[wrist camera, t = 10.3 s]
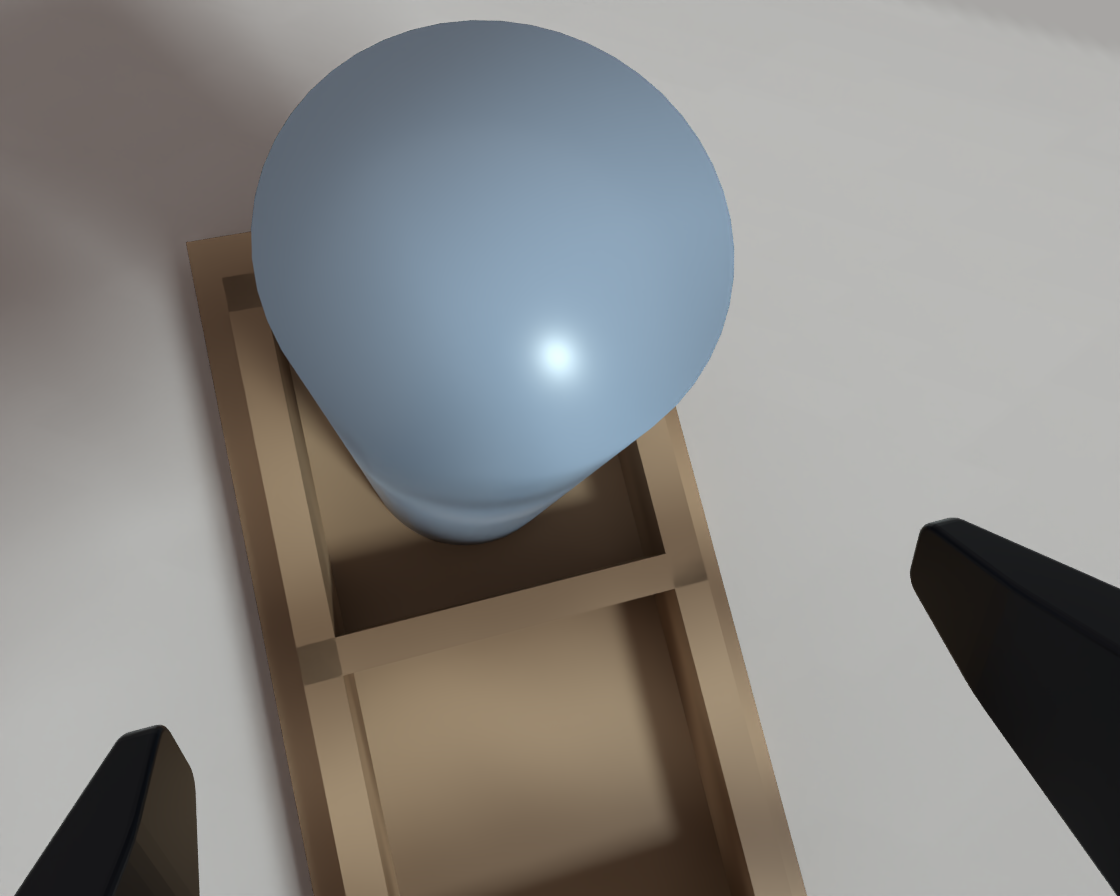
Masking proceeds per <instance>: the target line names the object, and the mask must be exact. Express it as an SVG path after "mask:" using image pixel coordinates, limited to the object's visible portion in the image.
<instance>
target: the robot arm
mask: <svg viewBox="0 0 1120 896" xmlns="http://www.w3.org/2000/svg"><path fill="white" fill-rule="evenodd" d="M910 578H911V583H912V586H913V588H914V590H915V592H916V594H917V596H918V598H919V599H920V601H921V603H922V605H923V606H924V608H925V610H926V612H927V614H928V615H929V617H930V619H931V621H932V622H933V624H934V626H935V628H936V629H937V631H938V633H939V635H940V636H941V638H942V640H943V642H944V643H945V645H946V647H947V649H948V650H949V652H950V654H951V656H952V657H953V659H954V661H955V663H956V664H957V666H958V668H959V670H960V671H961V673H962V675H963V677H964V678H965V680H966V682H967V683H968V685H969V687H970V688H971V690H972V691H973V693H974V695H975V696H976V698H977V699H978V700H979V702H980V703H981V705H982V706H983V708H984V709H985V711H986V712H987V714H988V715H989V716H990V718H991V719H992V721H993V722H994V723H995V725H996V726H997V728H998V729H999V730H1000V732H1001V733H1002V735H1003V736H1004V737H1005V739H1006V740H1007V742H1008V743H1009V744H1010V746H1011V747H1012V749H1013V750H1014V752H1015V753H1016V754H1017V756H1018V757H1019V759H1020V760H1021V761H1022V763H1023V764H1024V766H1025V767H1026V768H1027V770H1028V771H1029V773H1030V774H1031V775H1032V777H1033V778H1034V780H1035V781H1036V782H1037V784H1038V785H1039V787H1040V788H1041V789H1042V791H1043V792H1044V794H1045V795H1046V796H1047V798H1048V799H1049V801H1050V802H1051V803H1052V805H1053V806H1054V808H1055V809H1056V810H1057V812H1058V813H1059V815H1060V816H1061V818H1062V819H1063V820H1064V822H1065V823H1066V825H1067V826H1068V827H1069V829H1070V830H1071V832H1072V833H1073V834H1074V836H1075V837H1076V839H1077V840H1078V841H1079V843H1080V844H1081V846H1082V847H1083V848H1084V850H1085V851H1086V853H1087V854H1088V855H1089V857H1090V858H1091V860H1092V861H1093V862H1094V864H1095V865H1096V867H1097V868H1098V869H1099V871H1100V872H1101V874H1102V875H1103V876H1104V878H1105V879H1106V881H1107V882H1108V884H1109V885H1110V886H1111V888H1112V889H1113V891H1114V892H1115V893H1116V895H1117V896H1120V589H1119V588H1117V587H1115V586H1113V585H1110V584H1108V583H1106V582H1103V581H1101V580H1099V579H1097V578H1094V577H1092V576H1090V575H1088V574H1085V573H1083V572H1081V571H1078V570H1076V569H1074V568H1072V567H1069V566H1067V565H1065V564H1062V563H1060V562H1058V561H1056V560H1053V559H1051V558H1049V557H1047V556H1044V555H1042V554H1040V553H1037V552H1035V551H1033V550H1031V549H1028V548H1026V547H1024V546H1021V545H1019V544H1017V543H1015V542H1012V541H1010V540H1008V539H1006V538H1003V537H1001V536H999V535H996V534H994V533H992V532H990V531H987V530H985V529H983V528H980V527H978V526H976V525H974V524H971V523H969V522H967V521H965V520H962V519H959V518H947V519H943V520H939V521H935V522H931V523H928V524H926V525H924V526H923V528H922V529H921V530H920V533H919V537H918V541H917V544H916V548H915V552H914V556H913V560H912V564H911V569H910ZM14 896H200V895H199V869H198V844H197V818H196V793H195V782H194V777H193V773H192V770H191V768H190V766H189V764H188V762H187V760H186V759H185V757H184V755H183V753H182V752H181V750H180V748H179V747H178V745H177V743H176V741H175V740H174V738H173V736H172V735H171V733H170V731H169V730H168V729H167V728H166V727H165V726H163V725H155V726H151V727H147V728H143V729H139V730H136V731H132V732H128V733H126V734H124V735H123V736H121V737H120V738H119V739H118V740H117V742H116V743H115V744H114V746H113V747H112V749H111V750H110V752H109V753H108V755H107V756H106V758H105V759H104V761H103V762H102V764H101V765H100V767H99V768H98V770H97V771H96V773H95V775H94V776H93V778H92V779H91V781H90V782H89V784H88V785H87V787H86V788H85V790H84V791H83V793H82V794H81V796H80V797H79V799H78V800H77V802H76V803H75V805H74V806H73V808H72V809H71V811H70V812H69V814H68V815H67V817H66V818H65V820H64V821H63V823H62V824H61V826H60V827H59V829H58V830H57V832H56V833H55V835H54V836H53V838H52V839H51V841H50V842H49V844H48V845H47V847H46V849H45V850H44V852H43V853H42V855H41V856H40V858H39V859H38V861H37V862H36V864H35V865H34V867H33V868H32V870H31V871H30V873H29V874H28V876H27V877H26V879H25V880H24V882H23V883H22V885H21V886H20V888H19V889H18V891H17V892H16V894H15V895H14Z"/></svg>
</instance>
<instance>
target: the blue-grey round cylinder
mask: <svg viewBox="0 0 1120 896" xmlns="http://www.w3.org/2000/svg"><path fill="white" fill-rule="evenodd" d="M251 240H252V262H253V268H254V274H255V279H256V285H257V291H258V294H259V297H260V300H261V303H262V306H263V309H264V312H265V315H266V319H267V321H268V323H269V325H270V328H271V330H272V332H273V334H274V336H275V338H276V340H277V342H278V344H279V346H280V348H281V350H282V352H283V353H284V355H285V356H286V358H287V359H288V361H289V362H290V364H291V365H292V367H293V368H294V370H295V371H296V373H297V374H298V376H299V377H300V379H301V380H302V382H303V383H304V385H305V386H306V388H307V389H308V391H309V392H310V394H311V395H312V397H313V398H314V400H315V401H316V403H317V404H318V406H319V407H320V409H321V410H322V412H323V413H324V415H325V416H326V418H327V419H328V421H329V422H330V424H331V425H332V427H333V428H334V430H335V431H336V433H337V434H338V436H339V437H340V439H341V440H342V442H343V443H344V445H345V446H346V448H347V449H348V451H349V452H350V454H351V455H352V457H353V458H354V460H355V461H356V463H357V464H358V466H359V467H360V469H361V470H362V472H363V473H364V475H365V476H366V478H367V479H368V481H369V482H370V484H371V485H372V487H373V488H374V490H375V491H376V493H377V494H378V496H379V497H380V499H381V500H382V502H383V503H384V505H385V506H386V507H387V509H388V510H389V511H390V512H391V513H392V514H393V515H394V516H395V517H396V518H397V519H398V520H399V521H400V522H401V523H403V524H404V525H405V526H406V527H408V528H410V529H411V530H413V531H414V532H416V533H418V534H420V535H422V536H424V537H426V538H428V539H431V540H435V541H438V542H441V543H447V544H452V545H477V544H483V543H488V542H492V541H495V540H498V539H501V538H503V537H506V536H508V535H509V534H511V533H513V532H515V531H517V530H518V529H520V528H521V527H523V526H524V525H526V524H527V523H528V522H529V521H531V520H532V519H533V518H535V517H536V516H537V515H539V514H540V513H541V512H543V511H544V510H545V509H546V508H548V507H549V506H550V505H552V504H553V503H554V502H556V501H557V500H558V499H559V498H561V497H562V496H563V495H565V494H566V493H567V492H569V491H570V490H571V489H573V488H574V487H575V486H576V485H578V484H579V483H580V482H582V481H583V480H584V479H586V478H587V477H588V476H589V475H591V474H592V473H593V472H595V471H596V470H597V469H599V468H600V467H601V466H603V465H604V464H605V463H606V462H608V461H609V460H610V459H612V458H613V457H614V456H616V455H617V454H618V453H619V452H621V451H622V450H623V449H625V448H626V447H627V446H629V445H630V444H631V443H633V442H634V441H635V440H636V439H638V438H639V437H640V436H642V435H643V434H644V433H646V432H647V431H648V430H649V429H651V428H652V427H653V426H654V425H655V424H657V423H658V422H659V421H660V420H661V419H662V418H663V417H664V416H665V415H667V414H668V413H669V412H670V411H671V410H672V409H673V408H674V407H675V406H676V405H677V404H678V403H679V401H680V400H681V399H682V398H683V397H684V395H685V394H686V393H687V392H688V391H689V389H690V388H691V387H692V386H693V385H694V383H695V382H696V380H697V379H698V377H699V375H700V374H701V372H702V371H703V369H704V367H705V366H706V364H707V363H708V361H709V359H710V357H711V355H712V353H713V350H714V348H715V346H716V344H717V341H718V339H719V337H720V335H721V332H722V329H723V326H724V322H725V319H726V315H727V312H728V308H729V305H730V298H731V291H732V284H733V278H734V244H733V235H732V227H731V219H730V215H729V211H728V207H727V203H726V200H725V196H724V192H723V189H722V187H721V184H720V181H719V179H718V176H717V174H716V171H715V169H714V166H713V164H712V162H711V160H710V158H709V157H708V155H707V153H706V151H705V149H704V148H703V146H702V144H701V142H700V140H699V139H698V137H697V136H696V134H695V133H694V132H693V130H692V129H691V127H690V126H689V125H688V123H687V122H686V120H685V119H684V118H683V116H682V115H681V114H680V113H679V112H678V110H677V109H676V108H675V107H674V106H673V105H672V104H671V103H670V102H669V101H668V100H667V98H666V97H665V96H664V95H663V94H662V93H661V92H660V91H659V90H657V89H656V88H655V87H654V86H653V85H652V84H650V83H649V82H648V81H647V80H646V79H645V78H643V77H642V76H641V75H640V74H639V73H637V72H636V71H634V70H633V69H631V68H630V67H628V66H627V65H625V64H624V63H622V62H621V61H620V60H618V59H617V58H615V57H613V56H611V55H609V54H608V53H606V52H604V51H602V50H600V49H598V48H596V47H594V46H592V45H590V44H588V43H586V42H583V41H581V40H578V39H576V38H573V37H570V36H568V35H565V34H563V33H560V32H556V31H552V30H548V29H544V28H540V27H537V26H533V25H527V24H520V23H512V22H505V21H478V20H469V21H459V22H450V23H440V24H436V25H431V26H427V27H423V28H418V29H414V30H410V31H407V32H405V33H402V34H399V35H396V36H393V37H391V38H388V39H385V40H383V41H381V42H379V43H377V44H375V45H373V46H371V47H369V48H367V49H365V50H363V51H361V52H359V53H357V54H356V55H354V56H353V57H351V58H350V59H348V60H347V61H346V62H344V63H343V64H341V65H340V66H338V67H337V68H335V69H334V70H333V71H331V72H330V73H329V74H328V75H327V76H326V77H325V78H324V79H323V80H321V81H320V82H319V83H318V84H317V85H316V86H315V87H314V88H313V89H312V90H310V91H309V93H308V94H307V95H306V96H305V97H304V99H303V100H302V101H301V102H300V104H299V105H298V106H297V107H296V108H295V110H294V111H293V112H292V113H291V114H290V116H289V118H288V119H287V121H286V123H285V124H284V126H283V127H282V129H281V131H280V132H279V134H278V136H277V137H276V139H275V141H274V143H273V145H272V148H271V150H270V152H269V155H268V157H267V159H266V161H265V164H264V166H263V169H262V172H261V176H260V180H259V184H258V187H257V191H256V195H255V200H254V208H253V217H252V225H251Z"/></svg>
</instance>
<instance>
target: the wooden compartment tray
mask: <svg viewBox="0 0 1120 896" xmlns="http://www.w3.org/2000/svg"><path fill="white" fill-rule="evenodd" d="M186 245H187V250H188V255H189V260H190V266H191V271H192V276H193V281H194V286H195V291H196V296H197V301H198V306H199V312H200V317H201V322H202V327H203V332H204V337H205V342H206V347H207V352H208V358H209V363H210V368H211V373H212V378H213V383H214V388H215V393H216V398H217V404H218V409H219V414H220V419H221V424H222V429H223V434H224V439H225V444H226V450H227V455H228V460H229V465H230V470H231V475H232V480H233V485H234V490H235V496H236V501H237V506H238V511H239V516H240V521H241V526H242V531H243V536H244V541H245V547H246V552H247V557H248V562H249V567H250V572H251V577H252V582H253V587H254V593H255V598H256V603H257V608H258V613H259V618H260V623H261V628H262V633H263V639H264V644H265V649H266V654H267V659H268V664H269V669H270V674H271V679H272V685H273V690H274V695H275V700H276V705H277V710H278V715H279V720H280V725H281V731H282V736H283V741H284V746H285V751H286V756H287V761H288V766H289V771H290V777H291V782H292V787H293V792H294V797H295V802H296V807H297V812H298V817H299V822H300V828H301V833H302V838H303V843H304V848H305V853H306V858H307V863H308V868H309V874H310V879H311V884H312V889H313V894H314V896H807V894H806V890H805V887H804V883H803V879H802V876H801V872H800V868H799V864H798V861H797V857H796V853H795V850H794V846H793V842H792V838H791V835H790V831H789V827H788V823H787V820H786V816H785V812H784V809H783V805H782V801H781V797H780V794H779V790H778V786H777V782H776V779H775V775H774V771H773V768H772V764H771V760H770V756H769V753H768V749H767V745H766V741H765V738H764V734H763V730H762V727H761V723H760V719H759V715H758V712H757V708H756V704H755V700H754V697H753V693H752V689H751V686H750V682H749V678H748V674H747V671H746V667H745V663H744V660H743V656H742V652H741V648H740V645H739V641H738V637H737V633H736V630H735V626H734V622H733V619H732V615H731V611H730V607H729V604H728V600H727V596H726V592H725V589H724V585H723V581H722V578H721V574H720V570H719V566H718V563H717V559H716V555H715V551H714V548H713V544H712V540H711V537H710V533H709V529H708V525H707V522H706V518H705V514H704V511H703V507H702V503H701V499H700V496H699V492H698V488H697V484H696V481H695V477H694V473H693V470H692V466H691V462H690V458H689V455H688V451H687V447H686V443H685V440H684V436H683V432H682V429H681V425H680V421H679V417H678V414H677V410H676V406H675V407H674V408H673V409H672V410H671V411H670V412H669V413H668V414H667V415H665V416H664V417H663V418H662V419H661V420H660V421H659V422H658V423H657V424H655V425H654V426H653V427H652V428H651V429H649V430H648V431H647V432H646V433H644V434H643V435H642V436H640V437H639V438H638V439H636V440H635V441H634V442H633V443H631V444H630V445H629V446H627V447H626V448H625V449H623V450H622V451H621V452H619V453H618V454H617V455H616V456H614V457H613V458H612V459H610V460H609V461H608V462H606V463H605V464H604V465H603V466H601V467H600V468H599V469H597V470H596V471H595V472H593V473H592V474H591V475H589V476H588V477H587V478H586V479H584V480H583V481H582V482H580V483H579V484H578V485H576V486H575V487H574V488H573V489H571V490H570V491H569V492H567V493H566V494H565V495H563V496H562V497H561V498H559V499H558V500H557V501H556V502H554V503H553V504H552V505H550V506H549V507H548V508H546V509H545V510H544V511H543V512H541V513H540V514H539V515H537V516H536V517H535V518H533V519H532V520H531V521H529V522H528V523H527V524H526V525H524V526H523V527H521V528H520V529H518V530H517V531H515V532H513V533H511V534H509V535H508V536H506V537H503V538H501V539H498V540H495V541H492V542H488V543H483V544H477V545H452V544H447V543H441V542H438V541H435V540H431V539H428V538H426V537H424V536H422V535H420V534H418V533H416V532H414V531H413V530H411V529H410V528H408V527H406V526H405V525H404V524H403V523H401V522H400V521H399V520H398V519H397V518H396V517H395V516H394V515H393V514H392V513H391V512H390V511H389V510H388V509H387V507H386V506H385V505H384V503H383V502H382V500H381V499H380V497H379V496H378V494H377V493H376V491H375V490H374V488H373V487H372V485H371V484H370V482H369V481H368V479H367V478H366V476H365V475H364V473H363V472H362V470H361V469H360V467H359V466H358V464H357V463H356V461H355V460H354V458H353V457H352V455H351V454H350V452H349V451H348V449H347V448H346V446H345V445H344V443H343V442H342V440H341V439H340V437H339V436H338V434H337V433H336V431H335V430H334V428H333V427H332V425H331V424H330V422H329V421H328V419H327V418H326V416H325V415H324V413H323V412H322V410H321V409H320V407H319V406H318V404H317V403H316V401H315V400H314V398H313V397H312V395H311V394H310V392H309V391H308V389H307V388H306V386H305V385H304V383H303V382H302V380H301V379H300V377H299V376H298V374H297V373H296V371H295V370H294V368H293V367H292V365H291V364H290V362H289V361H288V359H287V358H286V356H285V355H284V353H283V352H282V350H281V348H280V346H279V344H278V342H277V340H276V338H275V336H274V334H273V332H272V330H271V328H270V325H269V323H268V321H267V319H266V315H265V312H264V309H263V306H262V303H261V300H260V297H259V294H258V291H257V285H256V279H255V274H254V268H253V262H252V240H251V232H246V233H239V234H233V235H227V236H221V237H215V238H209V239H203V240H197V241H191V242H186Z"/></svg>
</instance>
